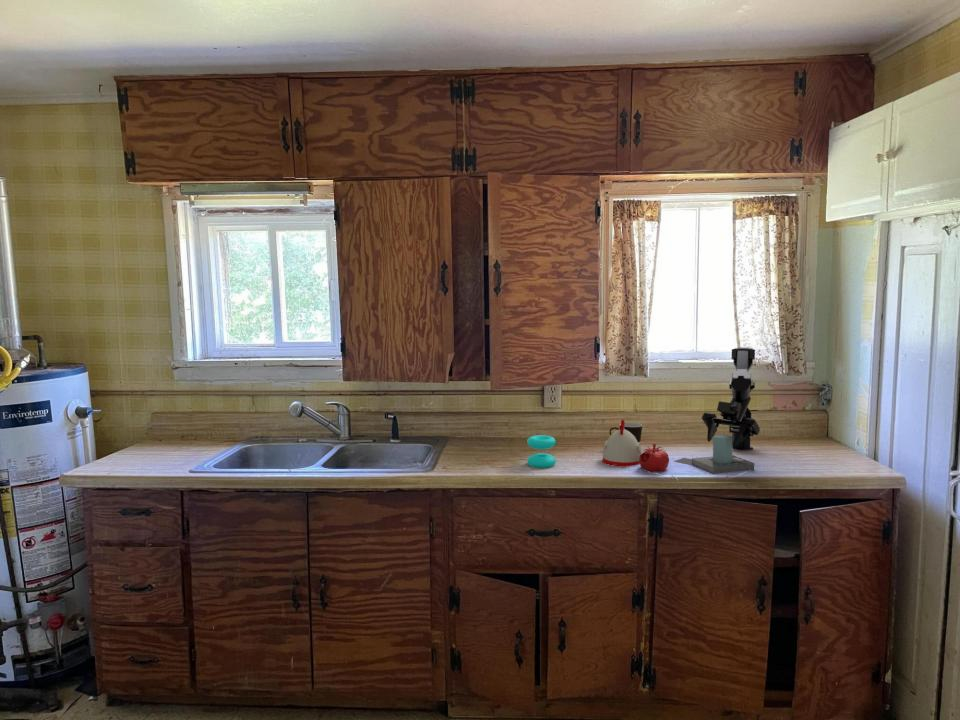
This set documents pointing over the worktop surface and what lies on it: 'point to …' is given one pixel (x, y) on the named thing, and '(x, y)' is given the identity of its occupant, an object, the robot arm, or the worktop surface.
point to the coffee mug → (632, 430)
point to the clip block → (722, 449)
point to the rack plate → (722, 465)
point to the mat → (684, 461)
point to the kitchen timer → (622, 448)
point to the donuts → (541, 459)
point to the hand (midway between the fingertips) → (720, 443)
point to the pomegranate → (654, 459)
